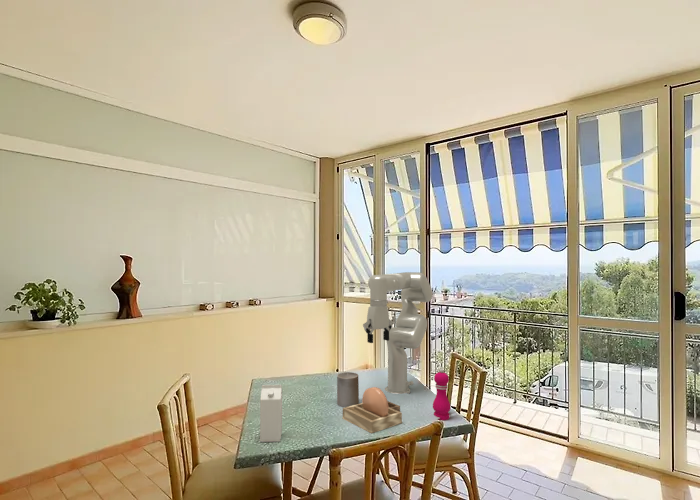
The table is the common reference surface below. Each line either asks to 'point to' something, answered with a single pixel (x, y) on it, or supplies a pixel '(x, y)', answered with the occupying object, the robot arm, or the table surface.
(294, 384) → the table surface
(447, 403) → the pepper mill
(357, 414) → the rack
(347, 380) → the pillar candle
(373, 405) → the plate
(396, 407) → the narrow wooden tray
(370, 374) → the table surface
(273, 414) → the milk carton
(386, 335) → the robot arm
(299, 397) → the table surface
